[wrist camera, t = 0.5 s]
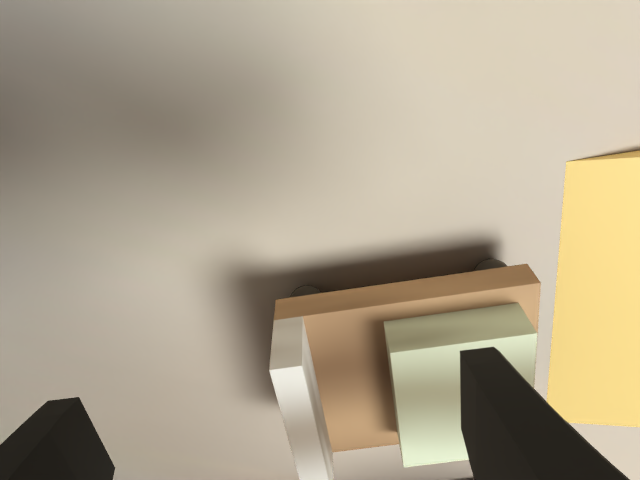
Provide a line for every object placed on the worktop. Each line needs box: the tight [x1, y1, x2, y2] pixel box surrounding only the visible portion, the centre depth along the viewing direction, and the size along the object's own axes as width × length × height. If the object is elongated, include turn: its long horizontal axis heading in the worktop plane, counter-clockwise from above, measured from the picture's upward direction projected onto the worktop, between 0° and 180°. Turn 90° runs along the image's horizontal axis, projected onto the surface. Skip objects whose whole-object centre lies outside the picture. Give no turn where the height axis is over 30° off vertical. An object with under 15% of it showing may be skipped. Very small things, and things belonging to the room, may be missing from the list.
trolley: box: [269, 259, 541, 480], centre depth 19 cm, size 7×9×5 cm
